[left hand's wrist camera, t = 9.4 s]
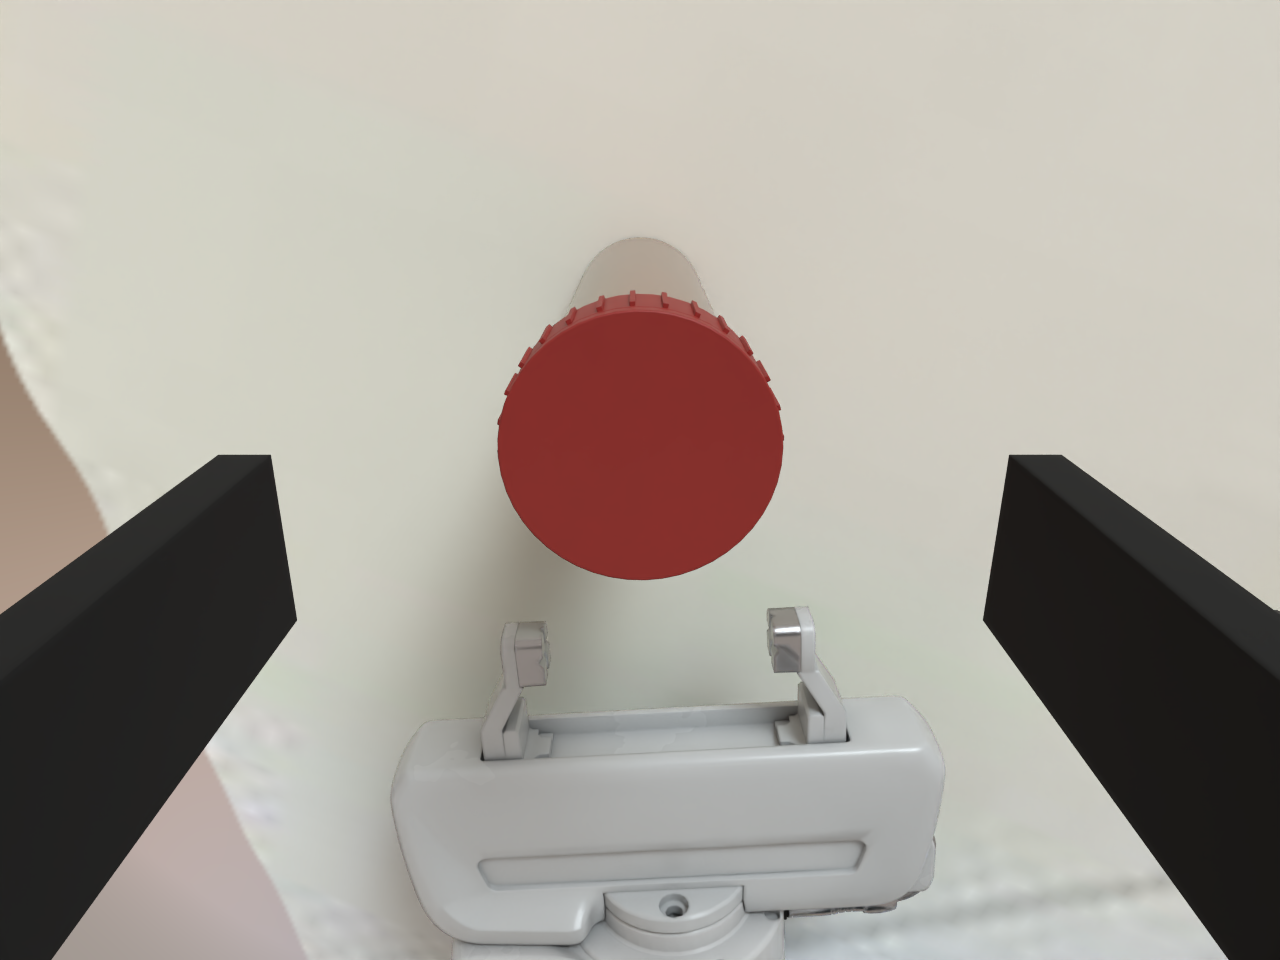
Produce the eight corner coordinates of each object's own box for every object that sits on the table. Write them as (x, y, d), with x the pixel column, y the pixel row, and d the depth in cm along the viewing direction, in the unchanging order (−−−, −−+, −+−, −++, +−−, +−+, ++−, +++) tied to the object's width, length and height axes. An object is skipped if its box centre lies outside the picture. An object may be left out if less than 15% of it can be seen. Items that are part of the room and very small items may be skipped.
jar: (590, 371, 34) (547, 570, 18) (567, 249, 33) (496, 348, 17) (710, 351, 34) (773, 535, 18) (692, 227, 32) (745, 306, 16)
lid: (538, 561, 20) (527, 602, 18) (480, 314, 18) (463, 333, 16) (786, 523, 19) (801, 561, 18) (756, 268, 17) (769, 281, 16)
